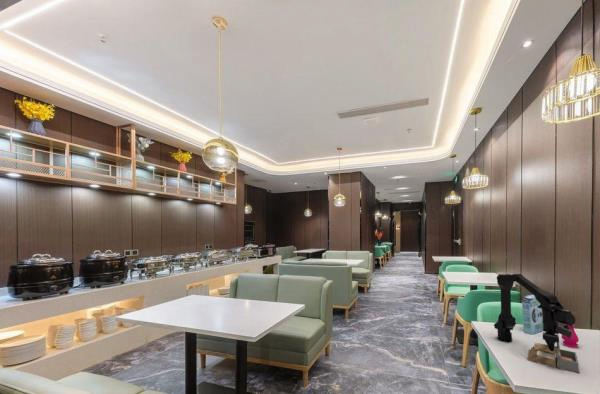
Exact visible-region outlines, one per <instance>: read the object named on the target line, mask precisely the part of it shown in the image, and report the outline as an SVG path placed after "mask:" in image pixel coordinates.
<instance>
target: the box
mask: <svg viewBox="0 0 600 394" xmlns="http://www.w3.org/2000/svg"><path fill="white" fill-rule="evenodd" d="M560 355H561V356H562V357H566V358H571V359H572V361H573V362H572V361H568V360H563V359H559V358H558V354H555V359H556V368H557V369H560V370H564V371H569V372H573V373H577V374H580V367H579V366H580V365H579V360H578V356H577V352H575V351H571V350H566V349H562V348H560Z"/></svg>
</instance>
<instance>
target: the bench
mask: <svg viewBox="0 0 600 394" xmlns="http://www.w3.org/2000/svg"><path fill="white" fill-rule="evenodd" d="M527 361H528V362H533V363H536V364H537V363H538V364H541V365H545V366H550V367H553V368H557V360H556V354H554V353H549V352H543V351H538V350H535V346H532V347H531V348H530V349H528V352H527Z"/></svg>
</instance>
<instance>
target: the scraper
mask: <svg viewBox="0 0 600 394" xmlns="http://www.w3.org/2000/svg"><path fill="white" fill-rule="evenodd" d="M533 344H534V346H533V347H535V350H538V351H543V352H549V353H554V354H555V355H556V354H558V358H561V355H560V349H561V348H560V342H559V343H557V342H555V344H556V346H555V345H554V350H553V351H550V349H549V347H548V345H547V343H540V342H534V343H533Z"/></svg>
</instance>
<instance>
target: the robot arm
mask: <svg viewBox="0 0 600 394" xmlns="http://www.w3.org/2000/svg"><path fill="white" fill-rule="evenodd" d="M515 282H516V283H517V284H519V285H520V286H521V287H523V288H524V290H527V291H528V293H529V292H530V294H531V295H532V294H533V295H534V296H535V298H536V300H537V301H538V302H539V303H540V305H539V306H537V307H538V308H541V309H542V322H543V331H542V340H544V341H545V344H546V345H548V347H549V349H550V351H553V350H554V346H555V344H557V343H559V344H560V337H559V335H561V336H562V335H564V336H566V337H568V338H571V336H572V334H573V331H572V330H571V329H569V326H573V325H574V324H576V321H577V320H576V319H577V318H576V317H575V315H574V314H573V313H572V311H571V310H568V311H567V309H565V308H564V306H563V304H562V303H561V302H560V301H559V299H558V297H557V296H556V295H555V294H553V293H551V292H549V291H547V290H543V289H542V288H540V287H539V286H537V285H536V284H535V283H533V282H532V281H530V280H529V279H528V278H526V277H525V276H524V275H523V274H521V273H512V274H510V273H502V274H498V275H497V276H496V283H497V285H498V286H499V288H500V313H499V315H498V317H497V321H496V322H495V323H494V324H493V326H494V329H495V330H497V341H502V342H506V343H511V342H512V341H513V335H512V334H513V333H512V332H511V331H513V330H514V328H515V327H516V325H517V323H516V320H517V319H516V317H514V316H513V315H512V300H511V299H512V298H511V297H512V295H511V294H512V291H511V290H512V288H513V287H514V285H515V284H514V283H515ZM559 323H561V324H562V325H560V324H559ZM564 324H566V325H564ZM567 325H569V326H567ZM574 326H575V325H574ZM556 342H557V343H556Z"/></svg>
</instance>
